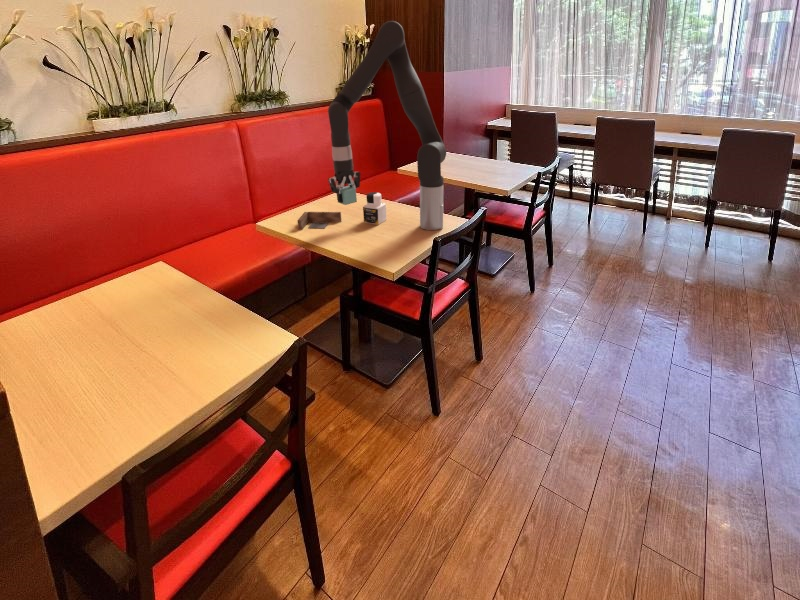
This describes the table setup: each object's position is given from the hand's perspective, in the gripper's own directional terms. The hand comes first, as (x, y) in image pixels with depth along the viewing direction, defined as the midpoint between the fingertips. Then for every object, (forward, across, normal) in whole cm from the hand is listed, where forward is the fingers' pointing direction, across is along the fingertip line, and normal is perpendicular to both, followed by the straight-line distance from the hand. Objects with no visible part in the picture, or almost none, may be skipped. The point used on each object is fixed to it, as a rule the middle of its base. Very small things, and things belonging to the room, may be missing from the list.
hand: (347, 200), depth 194 cm
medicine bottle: (+12, -12, +2) cm, 17 cm away
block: (+1, 0, 0) cm, 1 cm away
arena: (+11, +8, -10) cm, 17 cm away
